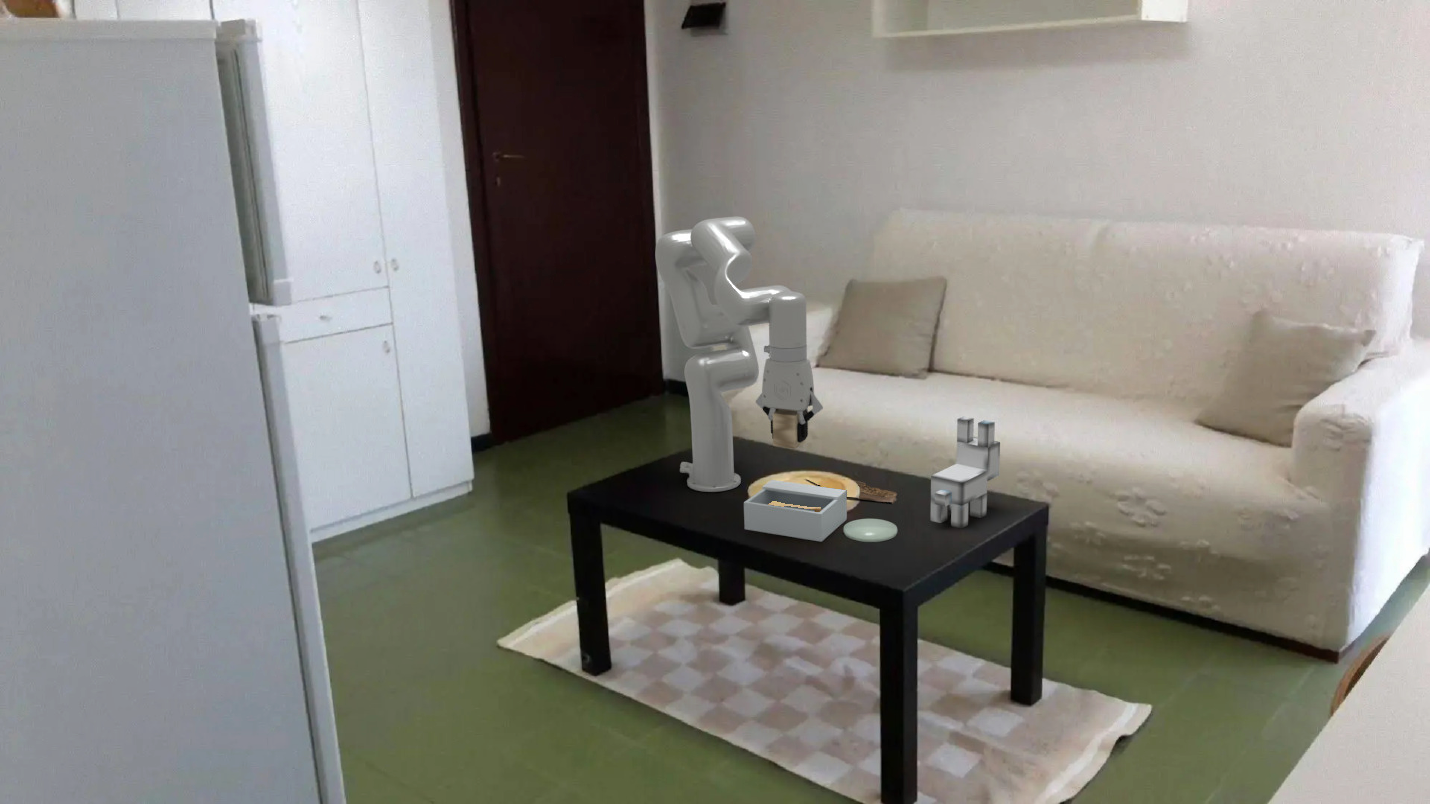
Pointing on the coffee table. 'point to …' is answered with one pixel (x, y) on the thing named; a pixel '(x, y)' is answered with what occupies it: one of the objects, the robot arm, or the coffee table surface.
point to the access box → (796, 510)
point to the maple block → (785, 429)
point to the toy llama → (966, 474)
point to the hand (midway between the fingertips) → (789, 438)
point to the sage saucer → (870, 530)
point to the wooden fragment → (875, 493)
